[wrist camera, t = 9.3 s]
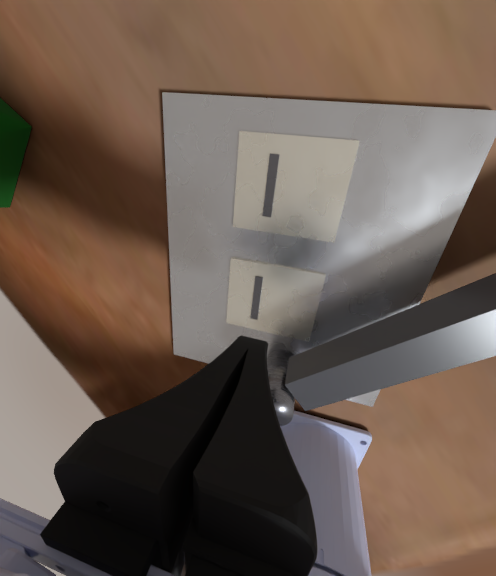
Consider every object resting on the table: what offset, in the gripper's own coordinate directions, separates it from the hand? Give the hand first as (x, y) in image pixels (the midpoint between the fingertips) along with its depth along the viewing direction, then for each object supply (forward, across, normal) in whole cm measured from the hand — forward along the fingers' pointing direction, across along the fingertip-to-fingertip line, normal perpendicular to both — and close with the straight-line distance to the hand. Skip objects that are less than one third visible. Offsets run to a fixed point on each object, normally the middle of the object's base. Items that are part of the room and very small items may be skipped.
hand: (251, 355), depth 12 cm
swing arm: (+4, -8, -1) cm, 10 cm away
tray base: (+6, 0, -2) cm, 7 cm away
